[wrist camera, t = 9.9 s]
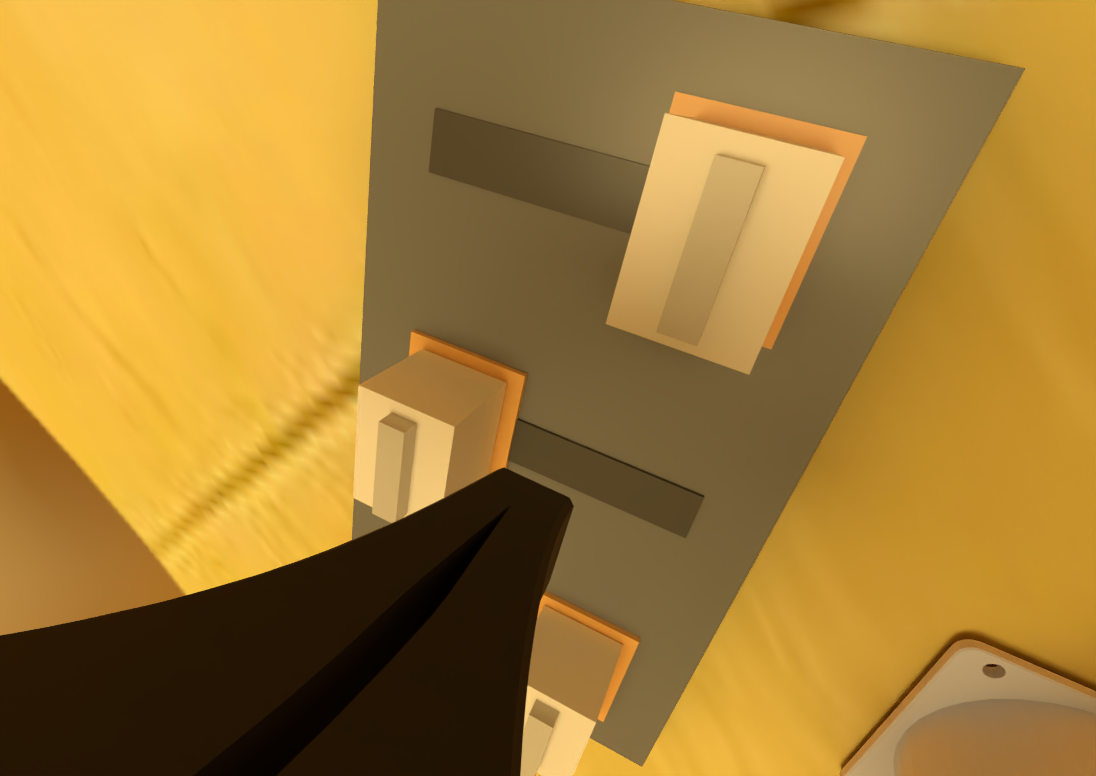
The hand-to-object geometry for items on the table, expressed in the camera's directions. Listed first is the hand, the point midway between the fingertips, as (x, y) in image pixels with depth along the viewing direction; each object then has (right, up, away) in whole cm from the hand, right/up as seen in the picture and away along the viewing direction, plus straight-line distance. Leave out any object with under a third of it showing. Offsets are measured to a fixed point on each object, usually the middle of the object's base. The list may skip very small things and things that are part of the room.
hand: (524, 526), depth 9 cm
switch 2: (+1, -8, +11) cm, 13 cm away
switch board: (+1, +1, +9) cm, 9 cm away
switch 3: (+5, +6, +3) cm, 8 cm away
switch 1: (-3, +1, +9) cm, 9 cm away
